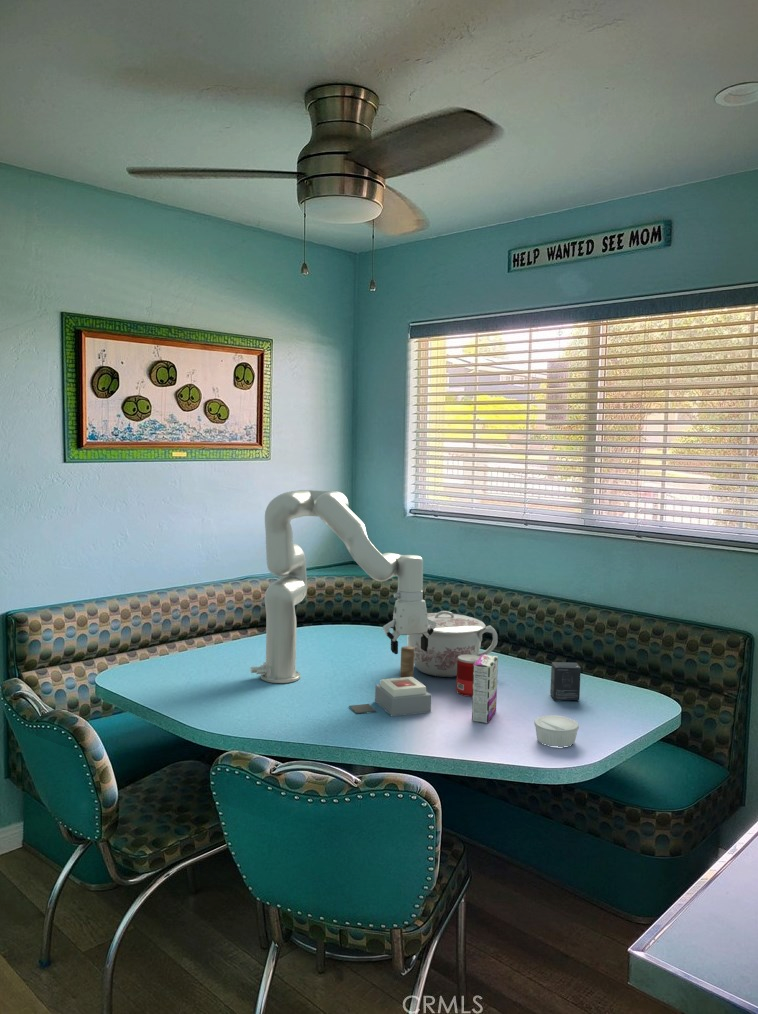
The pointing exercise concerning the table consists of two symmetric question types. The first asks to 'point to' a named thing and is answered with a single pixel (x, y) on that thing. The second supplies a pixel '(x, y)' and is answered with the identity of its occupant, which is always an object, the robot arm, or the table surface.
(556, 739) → the ramekin
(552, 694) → the box
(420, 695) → the grey white square holder
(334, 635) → the table surface
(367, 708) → the coaster
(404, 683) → the egg
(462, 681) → the canned food
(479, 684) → the candy bar box
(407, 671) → the brown rounded cylinder
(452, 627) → the chamber pot
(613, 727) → the table surface
